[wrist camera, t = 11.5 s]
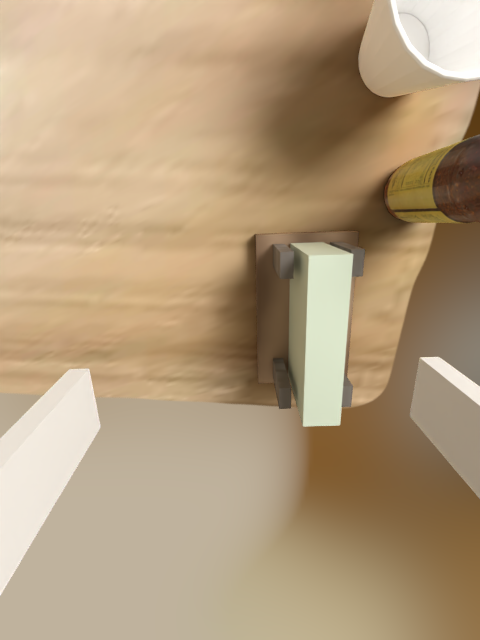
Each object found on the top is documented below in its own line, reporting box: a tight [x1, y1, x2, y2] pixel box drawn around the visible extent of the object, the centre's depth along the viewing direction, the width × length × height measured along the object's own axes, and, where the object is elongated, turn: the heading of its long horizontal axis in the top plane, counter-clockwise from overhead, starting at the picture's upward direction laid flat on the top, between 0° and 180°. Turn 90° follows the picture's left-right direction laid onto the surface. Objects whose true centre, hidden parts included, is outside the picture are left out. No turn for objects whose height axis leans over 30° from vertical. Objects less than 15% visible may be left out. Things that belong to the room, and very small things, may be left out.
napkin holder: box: [255, 231, 365, 409], centre depth 35 cm, size 11×18×8 cm, turn 2°
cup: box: [358, 0, 480, 97], centre depth 25 cm, size 12×12×12 cm
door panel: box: [288, 242, 353, 426], centre depth 33 cm, size 4×16×10 cm, turn 2°
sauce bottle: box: [384, 135, 480, 223], centre depth 25 cm, size 6×6×20 cm
